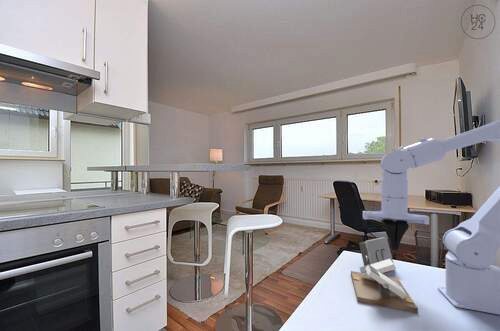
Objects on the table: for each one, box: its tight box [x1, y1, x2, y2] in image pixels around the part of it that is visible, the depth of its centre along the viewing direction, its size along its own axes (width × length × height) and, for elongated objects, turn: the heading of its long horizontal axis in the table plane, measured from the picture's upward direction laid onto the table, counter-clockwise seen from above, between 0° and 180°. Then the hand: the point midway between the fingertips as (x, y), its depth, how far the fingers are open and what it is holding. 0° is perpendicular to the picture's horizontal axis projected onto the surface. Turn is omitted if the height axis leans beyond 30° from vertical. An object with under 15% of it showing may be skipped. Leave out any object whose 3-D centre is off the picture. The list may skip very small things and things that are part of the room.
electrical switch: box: [358, 237, 395, 266], centre depth 66 cm, size 9×5×9 cm, turn 116°
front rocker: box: [365, 265, 407, 299], centre depth 50 cm, size 8×4×2 cm
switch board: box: [350, 270, 419, 314], centre depth 53 cm, size 12×13×3 cm
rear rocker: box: [359, 259, 397, 278], centre depth 56 cm, size 8×4×2 cm, turn 71°
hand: (393, 248), depth 56 cm, fingers closed
